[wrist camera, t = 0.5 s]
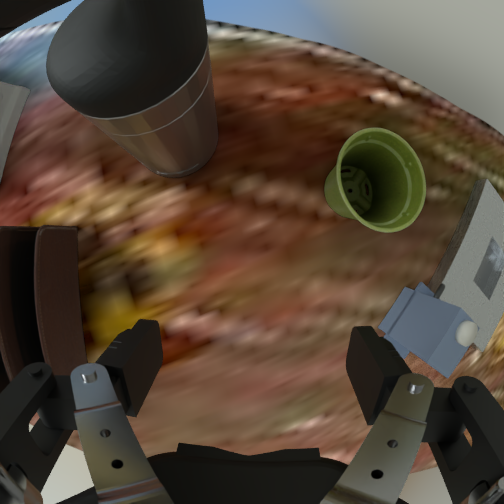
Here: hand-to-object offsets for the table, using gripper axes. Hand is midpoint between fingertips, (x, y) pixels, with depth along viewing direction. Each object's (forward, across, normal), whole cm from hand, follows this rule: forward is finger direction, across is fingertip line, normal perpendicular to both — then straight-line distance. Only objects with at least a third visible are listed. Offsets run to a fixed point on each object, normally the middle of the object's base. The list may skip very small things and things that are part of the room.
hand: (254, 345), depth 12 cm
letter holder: (+17, +26, +8) cm, 32 cm away
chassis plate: (+23, -33, +3) cm, 41 cm away
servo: (+20, -18, +9) cm, 29 cm away
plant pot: (+23, -10, -6) cm, 26 cm away
